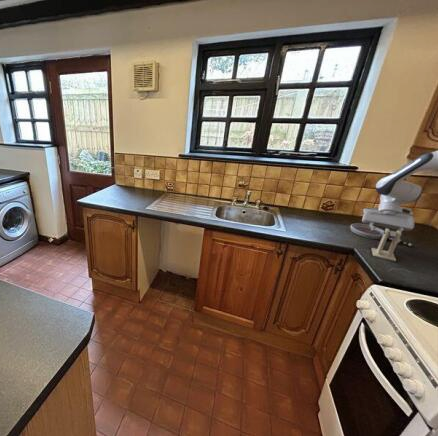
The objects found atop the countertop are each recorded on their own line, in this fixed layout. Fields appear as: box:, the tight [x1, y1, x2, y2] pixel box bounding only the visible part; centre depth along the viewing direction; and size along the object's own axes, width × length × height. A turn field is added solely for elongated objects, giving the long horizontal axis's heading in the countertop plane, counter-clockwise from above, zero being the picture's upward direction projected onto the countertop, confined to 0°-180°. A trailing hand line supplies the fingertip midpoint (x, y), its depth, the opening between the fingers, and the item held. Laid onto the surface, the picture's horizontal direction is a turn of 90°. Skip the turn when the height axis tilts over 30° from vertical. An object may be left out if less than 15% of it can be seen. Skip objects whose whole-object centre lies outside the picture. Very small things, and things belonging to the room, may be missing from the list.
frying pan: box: [350, 223, 413, 247], centre depth 141 cm, size 17×3×28 cm
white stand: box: [371, 227, 402, 262], centre depth 119 cm, size 10×8×14 cm
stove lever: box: [379, 230, 397, 242], centre depth 122 cm, size 14×4×4 cm, turn 144°
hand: (384, 233), depth 128 cm, fingers open, 8 cm apart
